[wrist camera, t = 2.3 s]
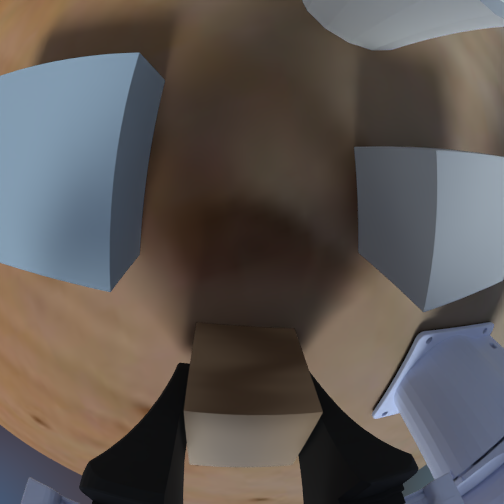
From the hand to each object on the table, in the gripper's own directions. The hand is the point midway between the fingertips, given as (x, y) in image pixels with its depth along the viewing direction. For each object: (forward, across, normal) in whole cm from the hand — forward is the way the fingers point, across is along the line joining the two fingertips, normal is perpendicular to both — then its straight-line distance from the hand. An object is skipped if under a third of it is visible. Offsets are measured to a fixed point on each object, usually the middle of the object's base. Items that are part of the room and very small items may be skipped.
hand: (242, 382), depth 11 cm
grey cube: (+2, -6, -9) cm, 11 cm away
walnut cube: (+2, 0, 0) cm, 2 cm away
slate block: (+2, +8, -9) cm, 12 cm away
